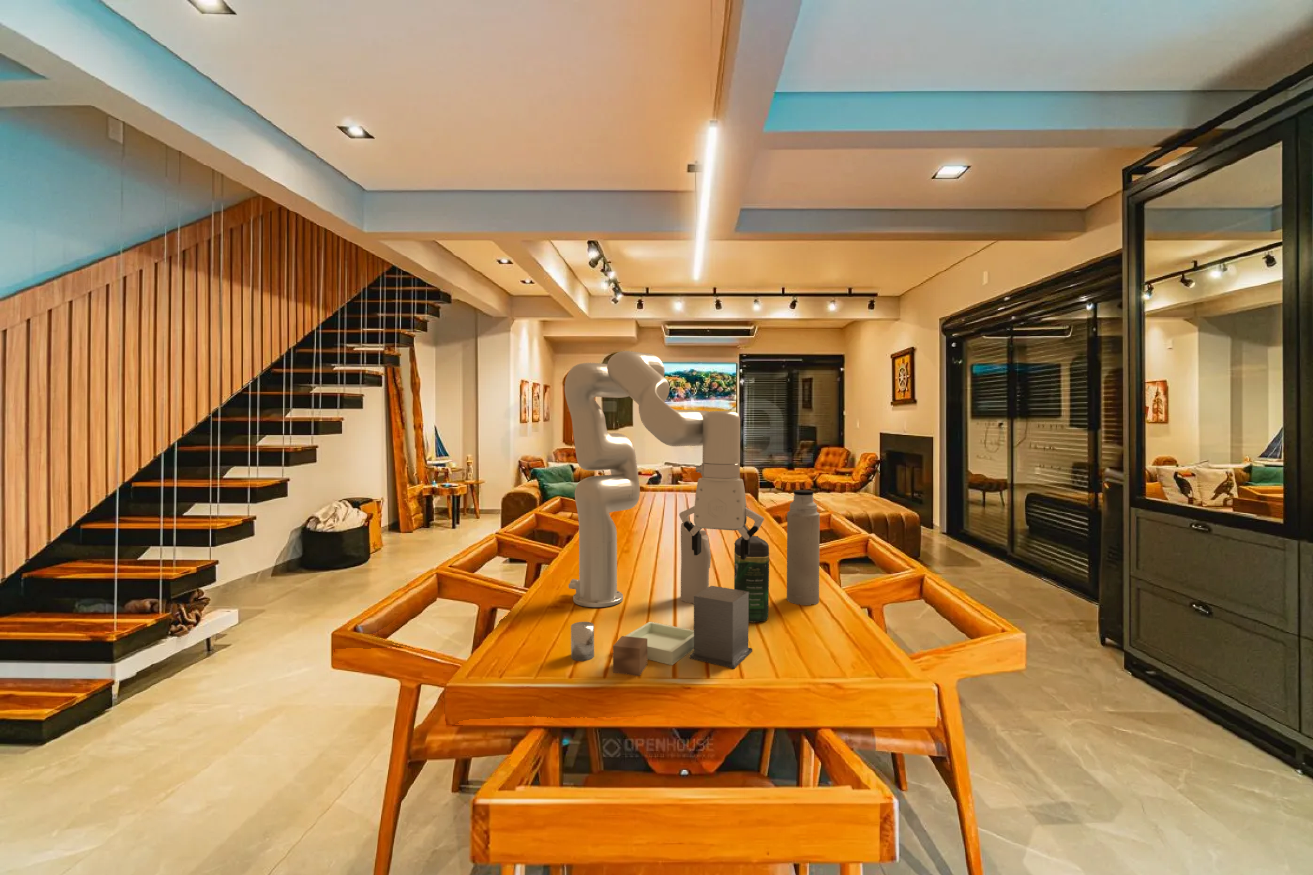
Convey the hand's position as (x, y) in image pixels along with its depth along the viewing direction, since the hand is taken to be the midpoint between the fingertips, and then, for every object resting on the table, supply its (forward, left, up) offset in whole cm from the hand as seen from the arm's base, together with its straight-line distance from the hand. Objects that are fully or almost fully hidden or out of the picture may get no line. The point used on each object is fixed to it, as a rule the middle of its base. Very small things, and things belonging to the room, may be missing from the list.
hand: (720, 556), depth 117 cm
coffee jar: (-1, +19, -18) cm, 26 cm away
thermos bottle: (+6, +37, -18) cm, 42 cm away
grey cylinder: (-21, -19, -18) cm, 33 cm away
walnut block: (-10, -19, -18) cm, 28 cm away
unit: (+2, -5, -18) cm, 19 cm away
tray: (-10, -8, -18) cm, 22 cm away
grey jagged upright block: (-15, +25, -18) cm, 34 cm away
